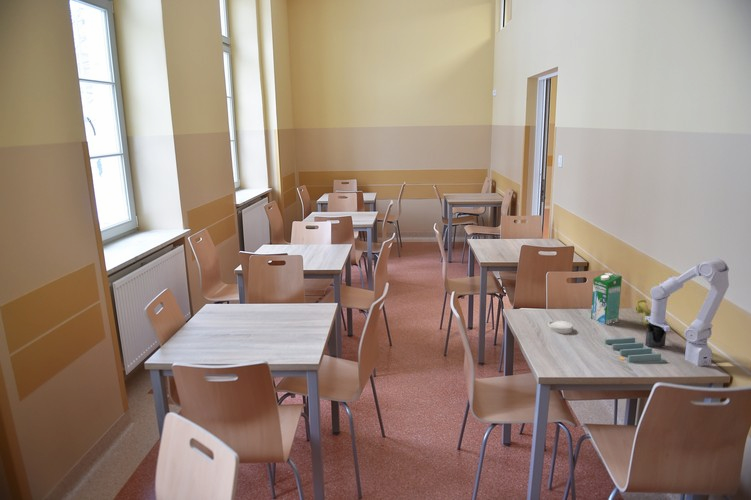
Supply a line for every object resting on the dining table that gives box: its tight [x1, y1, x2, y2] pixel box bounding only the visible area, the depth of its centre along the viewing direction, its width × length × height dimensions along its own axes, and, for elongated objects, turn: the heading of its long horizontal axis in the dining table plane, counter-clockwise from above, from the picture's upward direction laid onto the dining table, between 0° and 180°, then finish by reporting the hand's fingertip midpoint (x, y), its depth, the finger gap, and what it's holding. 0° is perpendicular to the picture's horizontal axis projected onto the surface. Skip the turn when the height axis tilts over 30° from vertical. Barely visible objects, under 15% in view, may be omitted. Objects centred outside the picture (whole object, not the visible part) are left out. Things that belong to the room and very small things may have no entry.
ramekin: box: [547, 320, 574, 334], centre depth 249 cm, size 11×11×5 cm
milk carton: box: [590, 272, 623, 325], centre depth 261 cm, size 9×9×25 cm
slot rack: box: [604, 337, 667, 364], centre depth 226 cm, size 21×18×3 cm
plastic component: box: [635, 299, 651, 324], centre depth 263 cm, size 20×7×10 cm, turn 169°
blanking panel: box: [644, 330, 667, 348], centre depth 233 cm, size 2×8×7 cm, turn 97°
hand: (655, 341), depth 234 cm, fingers open, 3 cm apart
